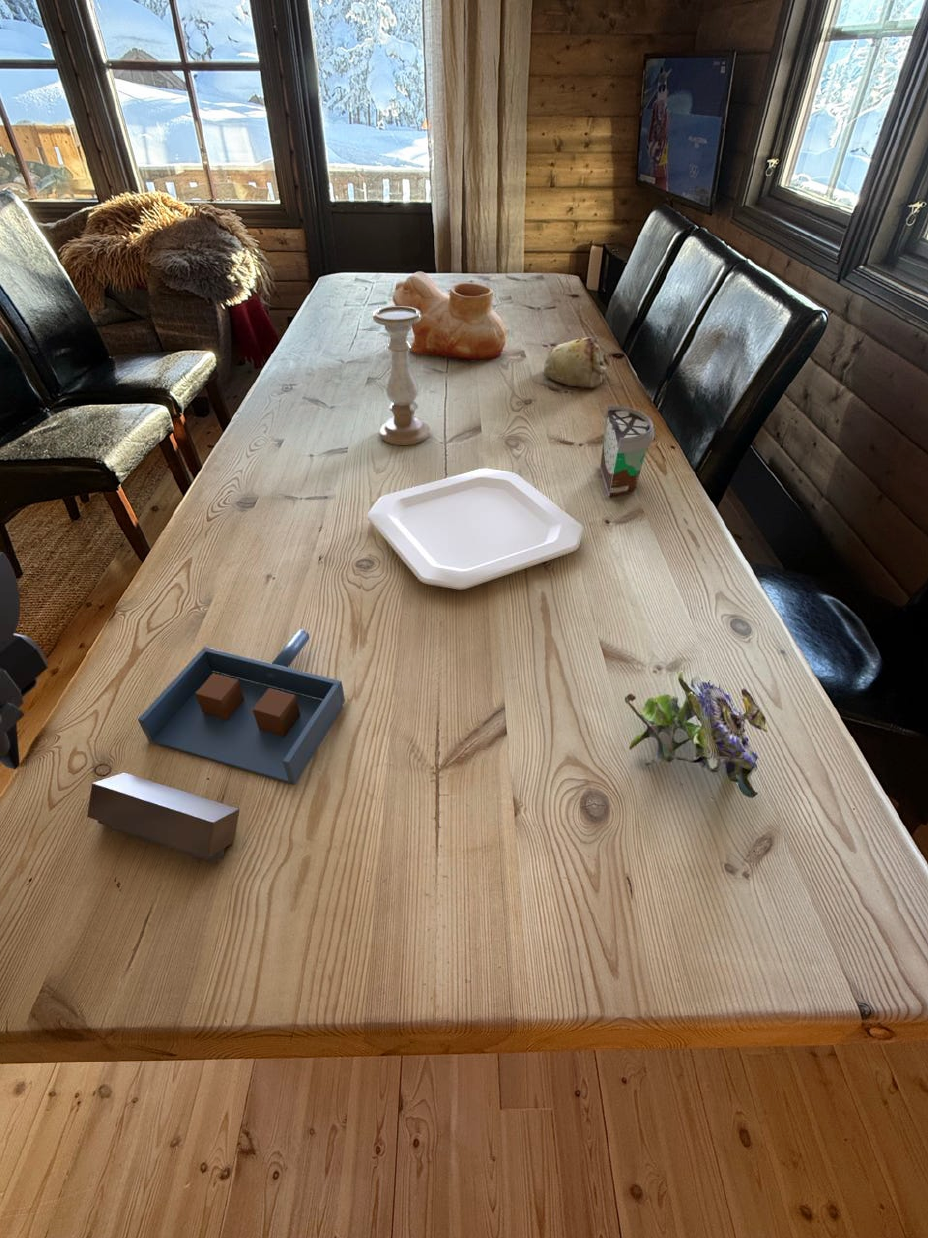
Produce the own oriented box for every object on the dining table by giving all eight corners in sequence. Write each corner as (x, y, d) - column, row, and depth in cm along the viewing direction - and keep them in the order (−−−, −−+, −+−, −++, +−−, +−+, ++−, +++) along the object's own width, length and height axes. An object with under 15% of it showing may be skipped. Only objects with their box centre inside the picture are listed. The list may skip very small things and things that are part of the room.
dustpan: (294, 785, 61) (288, 763, 58) (148, 741, 64) (137, 719, 62) (372, 659, 73) (370, 637, 71) (246, 629, 77) (240, 607, 75)
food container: (651, 502, 98) (664, 439, 92) (610, 502, 98) (620, 439, 92) (636, 463, 108) (647, 403, 101) (598, 463, 108) (607, 403, 101)
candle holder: (389, 449, 111) (379, 324, 98) (373, 429, 118) (361, 308, 104) (437, 440, 114) (433, 316, 101) (419, 420, 120) (413, 301, 107)
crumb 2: (252, 709, 63) (269, 687, 65) (258, 729, 65) (274, 707, 67) (279, 717, 62) (295, 695, 65) (285, 737, 64) (300, 715, 67)
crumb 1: (194, 693, 65) (212, 672, 67) (202, 713, 67) (220, 693, 69) (220, 700, 64) (238, 679, 66) (228, 720, 66) (244, 699, 68)
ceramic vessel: (412, 332, 158) (408, 263, 148) (514, 346, 150) (518, 274, 140) (384, 350, 148) (378, 278, 138) (492, 367, 140) (494, 291, 131)
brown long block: (84, 828, 56) (91, 783, 55) (117, 814, 59) (123, 772, 59) (205, 870, 53) (213, 822, 52) (232, 853, 56) (240, 808, 56)
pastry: (615, 386, 132) (621, 345, 127) (556, 392, 130) (560, 350, 125) (589, 362, 142) (594, 323, 137) (534, 367, 140) (537, 328, 135)
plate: (599, 552, 88) (601, 538, 87) (435, 610, 79) (434, 595, 78) (502, 474, 105) (502, 461, 103) (357, 514, 96) (355, 501, 94)
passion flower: (713, 797, 66) (798, 797, 54) (612, 799, 63) (680, 800, 52) (700, 685, 69) (779, 663, 57) (604, 683, 66) (666, 659, 55)
